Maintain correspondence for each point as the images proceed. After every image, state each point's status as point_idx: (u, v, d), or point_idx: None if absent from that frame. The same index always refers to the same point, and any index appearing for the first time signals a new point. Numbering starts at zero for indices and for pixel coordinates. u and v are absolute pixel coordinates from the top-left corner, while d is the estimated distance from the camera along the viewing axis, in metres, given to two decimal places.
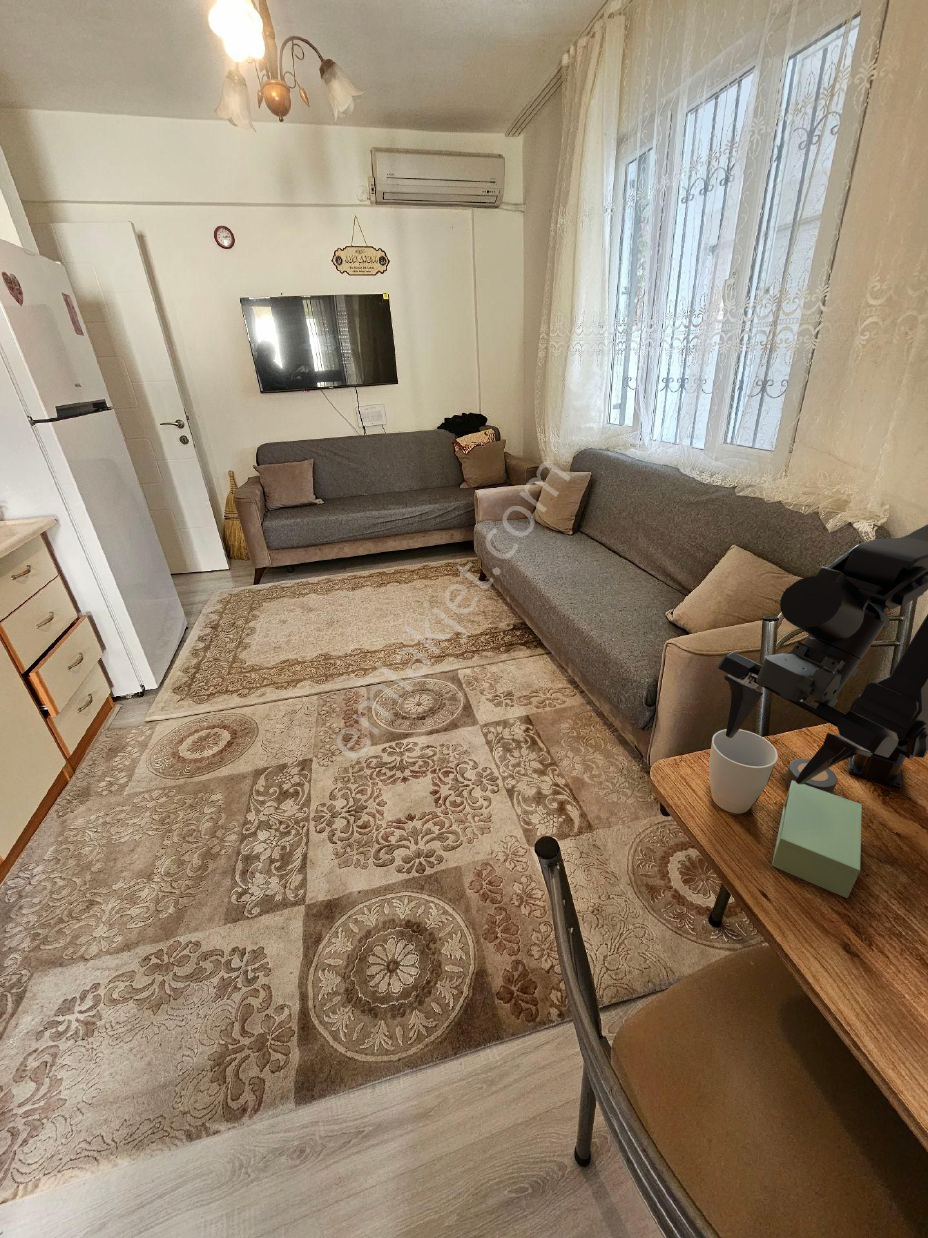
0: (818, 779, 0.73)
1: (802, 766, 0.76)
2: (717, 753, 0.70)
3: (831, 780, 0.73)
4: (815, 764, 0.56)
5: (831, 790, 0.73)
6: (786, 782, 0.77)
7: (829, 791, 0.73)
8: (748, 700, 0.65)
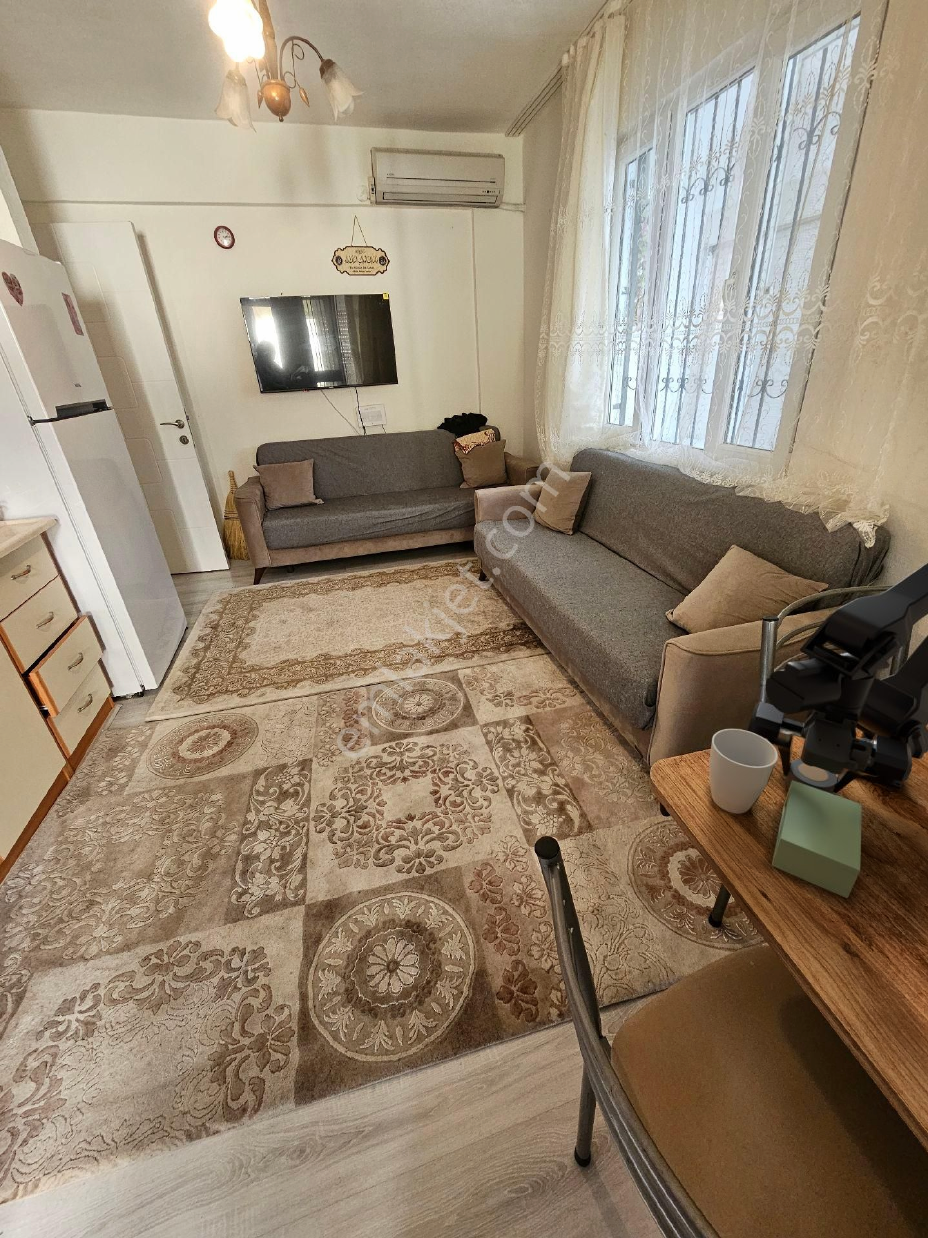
0: (818, 779, 0.73)
1: (802, 766, 0.76)
2: (717, 753, 0.70)
3: (831, 780, 0.73)
4: (846, 782, 0.71)
5: (831, 790, 0.73)
6: (786, 782, 0.77)
7: (829, 791, 0.73)
8: (791, 745, 0.75)
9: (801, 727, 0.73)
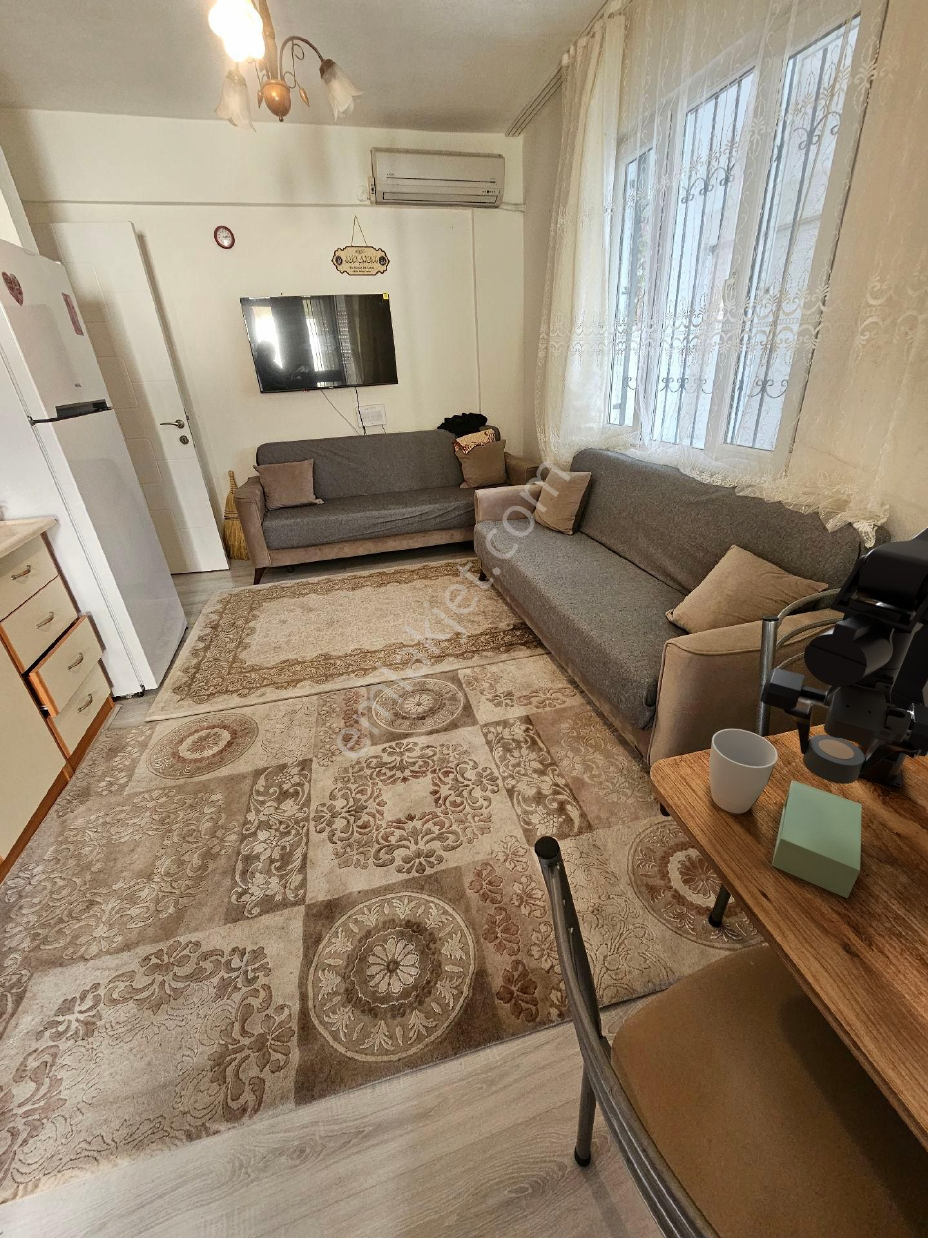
0: (842, 756, 0.63)
1: (823, 742, 0.65)
2: (717, 753, 0.70)
3: (858, 758, 0.63)
4: (876, 759, 0.61)
5: (858, 769, 0.62)
6: (804, 761, 0.66)
7: (856, 771, 0.62)
8: (811, 718, 0.65)
9: (823, 695, 0.62)
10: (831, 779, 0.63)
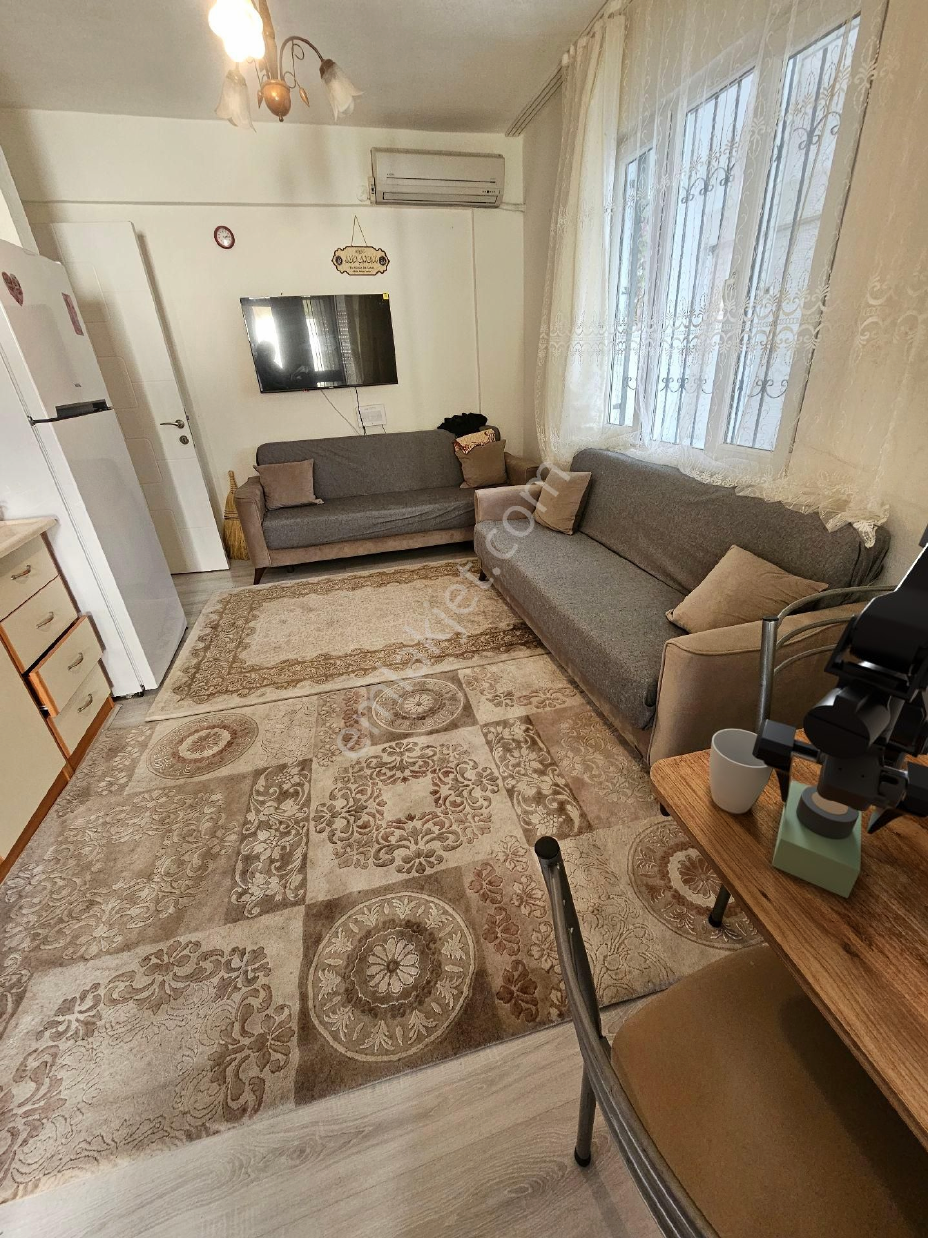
0: (836, 812, 0.62)
1: (817, 795, 0.64)
2: (717, 753, 0.70)
3: (851, 813, 0.62)
4: (884, 822, 0.59)
5: (852, 825, 0.61)
6: (798, 813, 0.65)
7: (850, 827, 0.61)
8: (791, 767, 0.64)
9: (816, 751, 0.61)
10: (825, 834, 0.62)
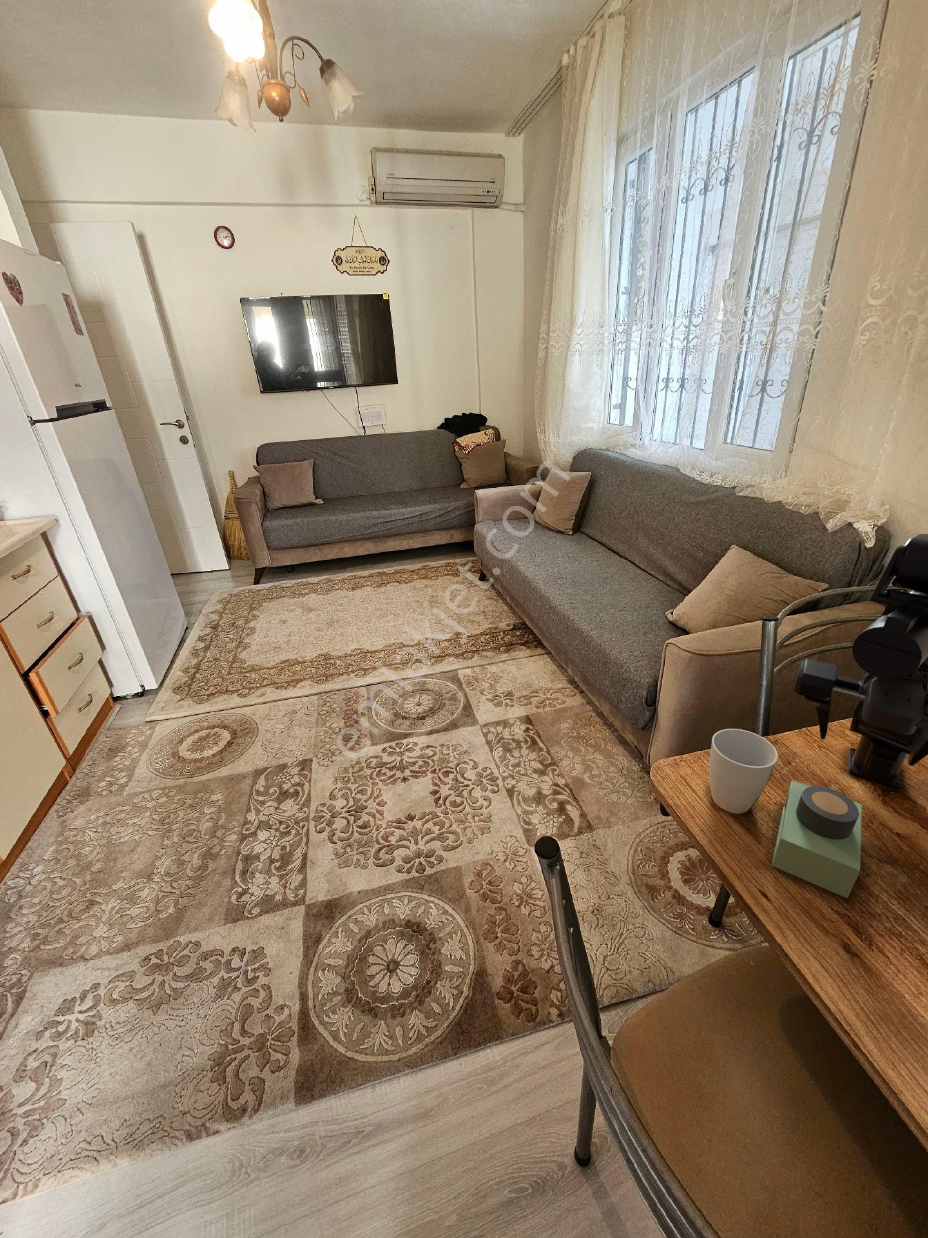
0: (836, 812, 0.62)
1: (817, 795, 0.64)
2: (717, 753, 0.70)
3: (851, 813, 0.62)
4: (926, 751, 0.61)
5: (852, 825, 0.61)
6: (798, 813, 0.65)
7: (850, 827, 0.61)
8: None
9: (857, 685, 0.63)
10: (825, 834, 0.62)
